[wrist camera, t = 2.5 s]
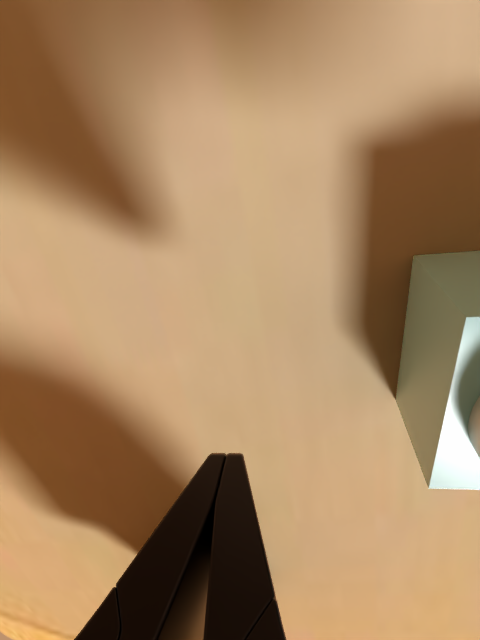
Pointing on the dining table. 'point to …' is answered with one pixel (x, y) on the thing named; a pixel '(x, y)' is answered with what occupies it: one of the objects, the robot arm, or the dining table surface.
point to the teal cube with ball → (443, 368)
